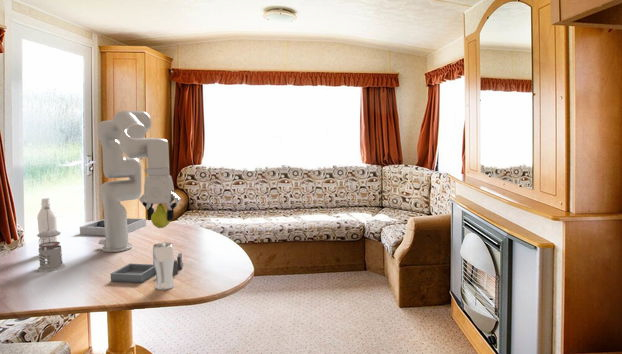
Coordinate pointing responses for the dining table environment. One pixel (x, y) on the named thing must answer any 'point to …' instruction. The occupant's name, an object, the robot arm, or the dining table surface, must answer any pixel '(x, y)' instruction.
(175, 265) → the clip
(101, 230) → the tray
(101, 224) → the pipe connector
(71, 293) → the dining table surface
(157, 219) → the fruit
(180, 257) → the clip
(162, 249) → the beer glass
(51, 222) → the water bottle
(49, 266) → the french press
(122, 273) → the grey square tray
